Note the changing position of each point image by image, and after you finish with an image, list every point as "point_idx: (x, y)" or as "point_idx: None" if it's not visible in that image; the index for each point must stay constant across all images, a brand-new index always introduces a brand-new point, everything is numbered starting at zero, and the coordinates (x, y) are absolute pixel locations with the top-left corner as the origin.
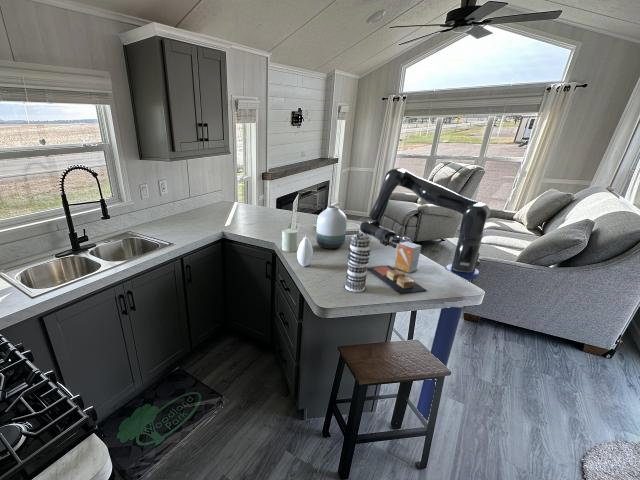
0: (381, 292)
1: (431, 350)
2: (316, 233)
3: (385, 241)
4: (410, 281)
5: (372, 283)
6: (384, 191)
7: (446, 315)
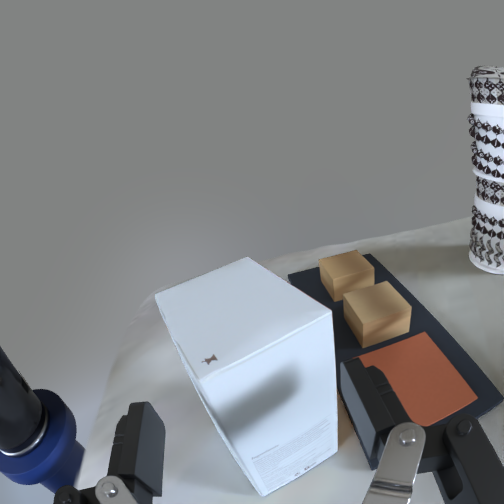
0: (422, 254)
1: None
2: None
3: (474, 418)
4: (334, 256)
5: (455, 286)
6: None
7: None
